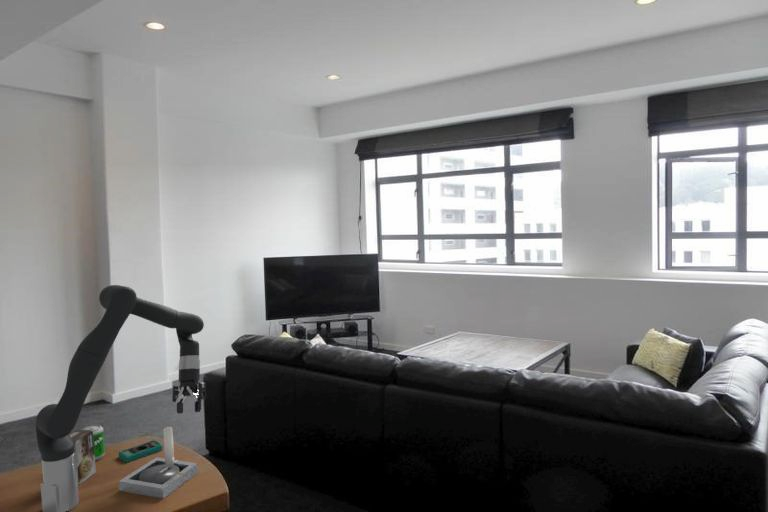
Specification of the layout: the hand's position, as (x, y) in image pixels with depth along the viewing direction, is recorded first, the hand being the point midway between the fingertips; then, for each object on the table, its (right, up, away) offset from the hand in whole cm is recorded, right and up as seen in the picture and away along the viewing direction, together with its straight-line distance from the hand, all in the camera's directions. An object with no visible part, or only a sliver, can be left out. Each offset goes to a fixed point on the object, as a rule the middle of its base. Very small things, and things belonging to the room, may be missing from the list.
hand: (188, 412), depth 200 cm
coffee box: (-36, -21, -9) cm, 42 cm away
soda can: (-39, -20, +7) cm, 44 cm away
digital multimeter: (-22, -20, +10) cm, 31 cm away
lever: (-6, -21, -12) cm, 24 cm away
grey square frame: (-6, -21, -12) cm, 24 cm away
